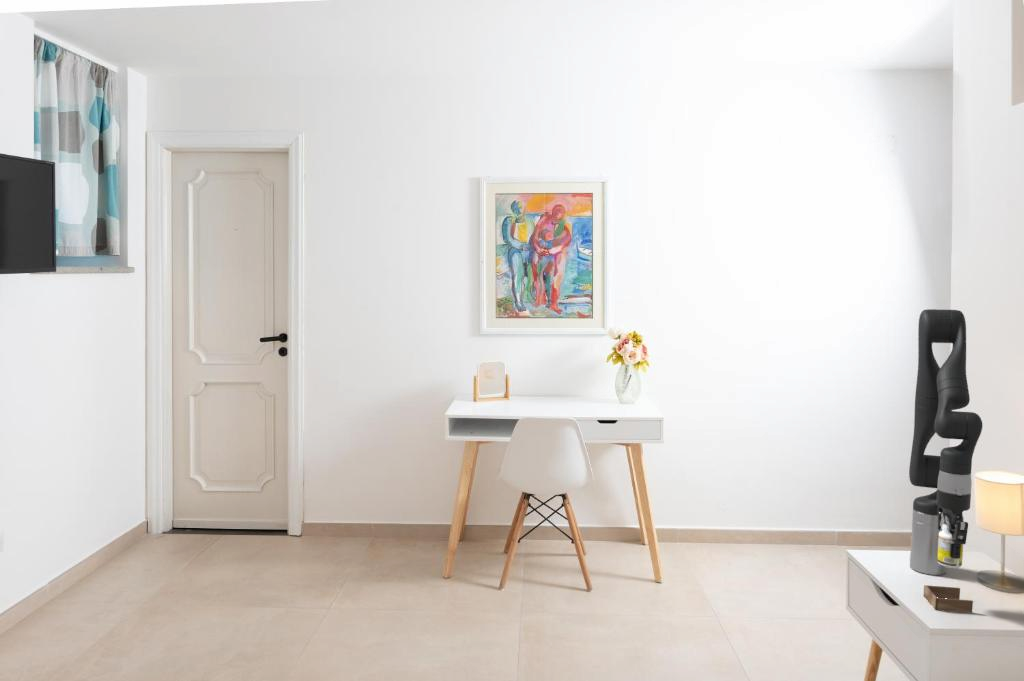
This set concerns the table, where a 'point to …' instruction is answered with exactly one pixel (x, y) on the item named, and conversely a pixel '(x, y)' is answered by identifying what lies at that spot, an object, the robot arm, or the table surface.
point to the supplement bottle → (947, 550)
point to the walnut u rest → (952, 599)
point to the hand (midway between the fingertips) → (950, 553)
